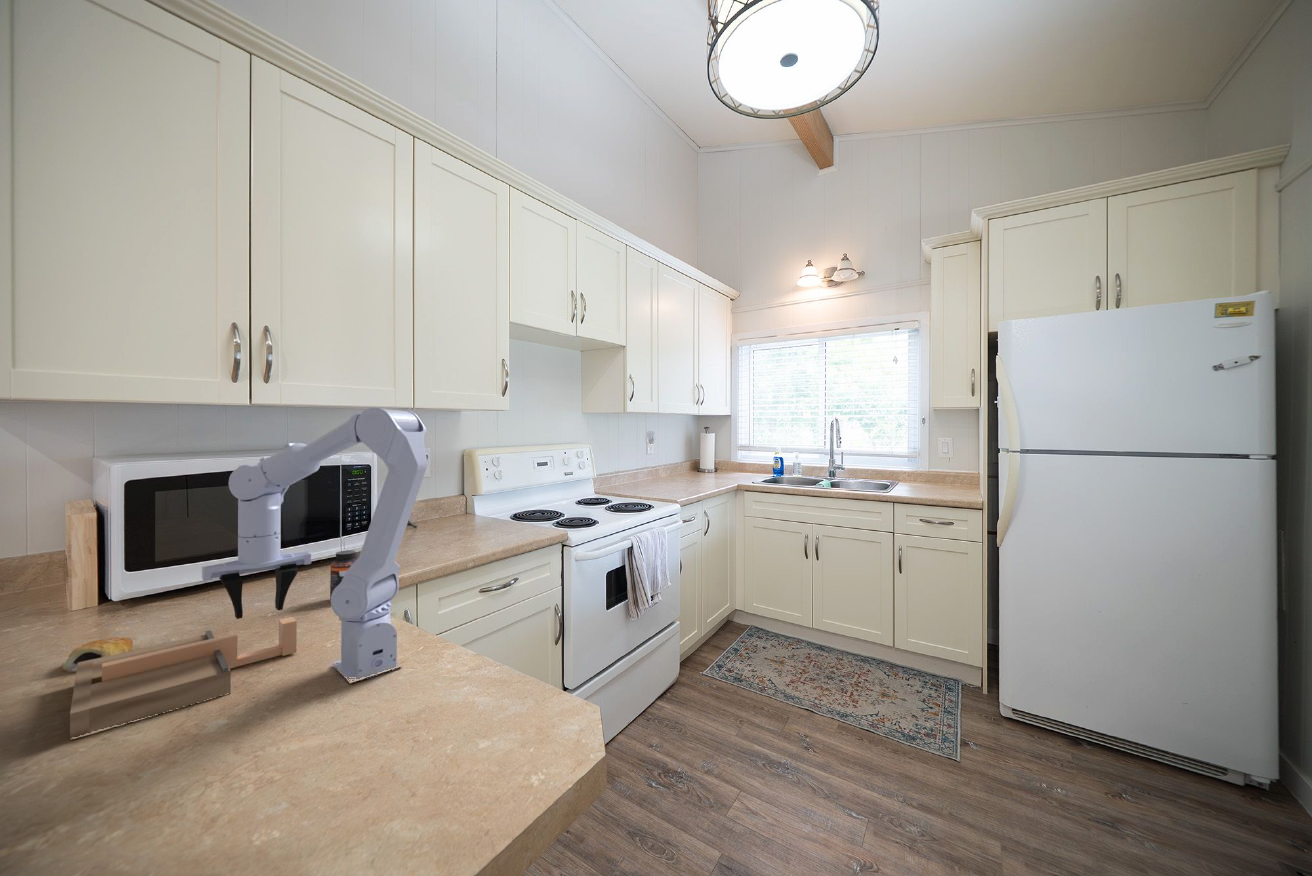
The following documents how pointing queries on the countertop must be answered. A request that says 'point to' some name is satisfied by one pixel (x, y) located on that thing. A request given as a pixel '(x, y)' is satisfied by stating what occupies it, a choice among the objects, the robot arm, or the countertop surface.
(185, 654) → the stepped wooden plank
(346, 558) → the supplement bottle
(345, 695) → the countertop surface
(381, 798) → the countertop surface
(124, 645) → the pastry
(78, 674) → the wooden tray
